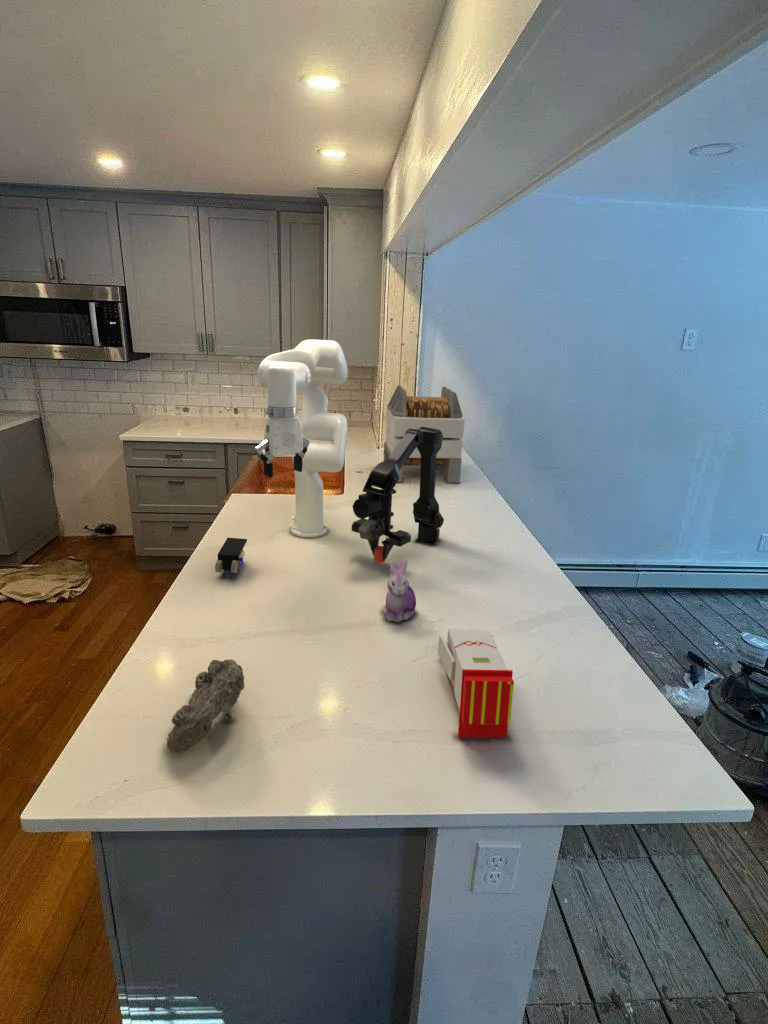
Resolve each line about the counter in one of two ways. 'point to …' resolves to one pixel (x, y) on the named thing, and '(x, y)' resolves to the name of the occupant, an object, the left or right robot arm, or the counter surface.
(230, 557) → the figurine character
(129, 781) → the counter surface
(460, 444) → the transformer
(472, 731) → the toy
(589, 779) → the counter surface
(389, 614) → the figurine
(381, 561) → the can
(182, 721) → the fossil
